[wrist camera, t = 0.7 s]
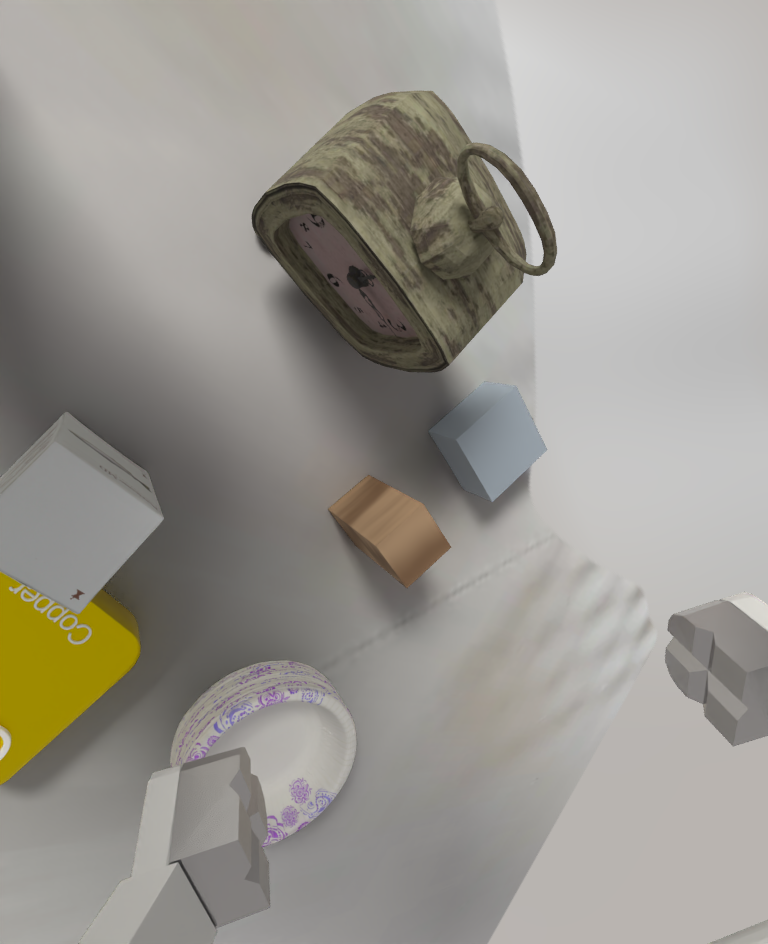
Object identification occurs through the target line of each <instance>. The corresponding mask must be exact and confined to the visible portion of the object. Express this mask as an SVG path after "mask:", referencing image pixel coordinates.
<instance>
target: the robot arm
mask: <svg viewBox="0 0 768 944" xmlns="http://www.w3.org/2000/svg"><path fill="white" fill-rule="evenodd" d="M668 631H669V632H670V633H671V634H672V635H673V636H674V637H673V639H672V640H671V641H670V643H669V644H668V646H667V647H666V655H665V662H666V664H667V668H668V671H669V674H670V676H671V677H672V679H673V681H674V682H675V684H676V685H677V687H678V688H679V689H680V690H681V691H682V692H683V693H684V695H685V696H687V697H688V698H690V699H693V700H695V701H697V702H699V703H702V704H703V707H704V715H705V717H706V718H707V719H708V720H709V721H710V722H711V723H712V725H714V727H715V728H716V729H717V730H718V731H719V732H720V733H721V734H722V735H723V736H724V737H725V738H726V739H727V740H728V742H729V743H730V744H731V745H732V746H736V745H739V744H743V743H745V742H749V741H752V740H755V739H758V738H762V737H765V736H768V605H767V604H765V603H764V602H763V601H761V600H760V599H758V598H757V597H756V596H754V595H752V594H749V593H746V592H743V593H740V594H736V595H733V596H730V597H727V598H724V599H721V600H717V601H713V602H710V603H706V604H703V605H700V606H697V607H694V608H691V609H688V610H685V611H681V612H678V613H676V614H673V615H672V616H671V618H670V619H669V622H668ZM267 836H268V825H267V813H266V806H265V799H264V795H263V791H262V787H261V784H260V782H259V779H258V777H257V776H255V775H253V774H251V759H250V757H249V755H248V753H247V751H246V748H245V747H240V748H237V749H233V750H230V751H226V752H222V753H219V754H215V755H212V756H208V757H204V758H201V759H197V760H194V761H190V762H186V763H184V764H180V765H177V766H173V767H170V768H166V769H163V770H160V771H156V772H153V774H152V776H151V778H150V780H149V782H148V784H147V790H146V795H145V801H144V806H143V812H142V817H141V823H140V828H139V834H138V839H137V845H136V850H135V856H134V861H133V867H132V872H131V877H130V878H127V879H124V880H122V881H120V883H119V884H118V886H117V887H116V889H115V890H114V891H113V893H112V894H111V896H110V897H109V899H108V900H107V902H106V903H105V905H104V906H103V908H102V909H101V910H100V912H99V913H98V915H97V916H96V918H95V919H94V921H93V922H92V924H91V925H90V927H89V928H88V929H87V931H86V932H85V934H84V935H83V937H82V938H81V940H80V941H79V943H78V944H212V943H213V941H214V939H215V936H216V934H217V930H216V928H218V927H221V926H223V925H226V924H228V923H231V922H234V921H236V920H239V919H242V918H244V917H247V916H249V915H252V914H255V913H257V912H260V911H263V910H265V909H268V908H270V884H269V862H268V860H267V857H266V855H265V853H264V850H263V848H262V846H263V844H264V842H265V840H266V838H267ZM709 944H768V920H766V921H764V922H761V923H759V924H756V925H754V926H751V927H749V928H746V929H744V930H741V931H739V932H736V933H734V934H731V935H729V936H726V937H724V938H721V939H719V940H716V941H714V942H711V943H709Z"/></svg>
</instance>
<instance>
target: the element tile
mask: <svg viewBox="0 0 768 944" xmlns="http://www.w3.org/2000/svg"><path fill="white" fill-rule="evenodd" d="M140 651H141V644H140V637H139V630H138V624H137V622H136V619H135V617H134V616H133V615H132V614H131V612H130V611H129V610H127V609H126V608H125V607H124V606H122V605H121V604H120V603H119V602H117V601H116V600H115V599H114V598H112V597H111V596H110V595H109V594H107V593H106V592H105V591H104V590H103V589H101V590H100V591H99V592H98V593H97V594H96V596H95V597H94V598H93V599H92V600H91V601H90V602H89V603H88V605H87V606H86V607H85V608H84V609H83V610H82V612H81V613H80V614H75V613H73V612H72V611H70V610H69V609H67V608H65V607H63V606H61V605H60V604H58V603H56V602H54V601H52V600H51V599H49V598H47V597H45V596H43V595H42V594H40V593H38V592H36V591H34V590H33V589H31V588H29V587H26V586H24V585H22V584H21V583H19V582H17V581H16V580H14V579H12V578H11V577H9V576H7V575H5V574H4V573H2V572H0V785H2V784H3V783H5V782H6V781H8V780H9V779H10V778H11V777H12V776H13V775H14V774H16V773H17V772H18V771H19V770H20V769H21V768H22V767H23V766H24V765H26V764H27V763H28V762H29V761H30V760H31V759H32V758H33V757H34V756H36V755H37V754H38V753H39V752H40V751H41V750H42V749H43V748H44V747H46V746H47V745H48V744H49V743H50V742H51V741H52V740H53V739H54V738H55V737H57V736H58V735H59V734H60V733H61V732H62V731H63V730H64V729H65V728H67V727H68V726H69V725H70V724H71V723H72V722H73V721H74V720H75V719H77V718H78V717H79V716H80V715H81V714H82V713H83V712H84V711H85V710H87V709H88V708H89V707H90V706H91V705H92V704H93V703H94V702H95V701H97V700H98V699H99V698H100V697H101V696H102V695H103V694H104V693H105V692H107V691H108V690H109V689H110V688H111V687H112V686H113V685H114V684H115V683H117V682H118V681H119V680H120V679H121V678H122V677H123V676H124V675H125V674H126V673H128V672H129V671H130V670H131V669H132V667H133V666H134V665H135V664H136V662H137V660H138V658H139V656H140Z"/></svg>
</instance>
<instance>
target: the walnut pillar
mask: <svg viewBox="0 0 768 944" xmlns="http://www.w3.org/2000/svg"><path fill="white" fill-rule="evenodd" d="M328 510H329V511H330V512H331V514H332V515H333V516H334V518H335V519H336V520H337V522H338V523H339V524H340V526H341V527H342V528H343V530H344V531H345V532H346V534H347V535H348V536H349V538H350V539H351V540H352V541H353V543H354V544H355V545H356V546H357V547H358V548H359V549H360V550H361V551H363V552H364V553H365V554H366V555H367V556H369V557H370V558H371V559H372V560H373V561H375V562H376V563H377V564H378V565H379V566H381V567H382V568H383V569H384V570H385V571H387V572H388V573H389V574H390V575H392V576H393V577H394V578H395V579H396V580H398V581H399V582H400V583H401V584H402V585H404V586H405V587H406V588H408V587H409V586H410V585H411V584H412V583H413V582H414V581H415V580H417V579H418V578H419V577H420V576H421V575H422V574H423V573H424V572H425V571H426V570H427V569H428V568H429V567H431V566H432V565H433V564H434V563H435V562H436V561H437V560H438V559H439V558H440V557H441V556H442V555H443V554H444V553H446V552H447V551H448V550H449V549H450V548H451V546H450V545H449V543H448V542H447V540H446V538H445V537H444V535H443V534H442V532H441V531H440V529H439V527H438V526H437V524H436V523H435V521H434V520H433V518H432V517H431V515H430V513H429V512H428V510H427V509H426V507H425V506H424V504H422V503H421V502H419V501H417V500H415V499H413V498H411V497H409V496H407V495H406V494H404V493H402V492H400V491H398V490H396V489H394V488H392V487H391V486H389V485H387V484H385V483H383V482H381V481H379V480H377V479H375V478H374V477H372V476H370V475H368V476H366V477H365V478H364V479H363V480H362V481H360V482H359V483H358V484H357V485H356V486H355V487H353V488H352V489H351V490H350V491H349V492H347V493H346V494H345V495H344V496H343V497H342V498H340V499H339V500H338V501H337V502H336V503H334V504H333V505H332V506H331V507H330V508H329V509H328Z"/></svg>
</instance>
